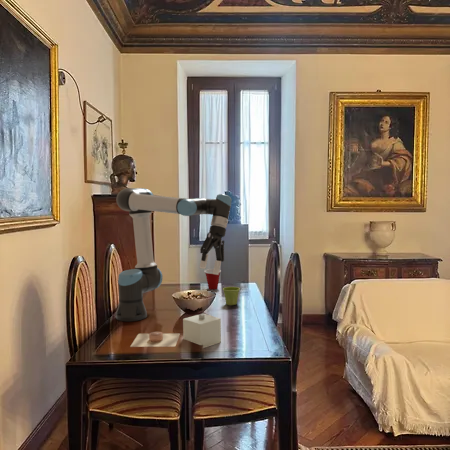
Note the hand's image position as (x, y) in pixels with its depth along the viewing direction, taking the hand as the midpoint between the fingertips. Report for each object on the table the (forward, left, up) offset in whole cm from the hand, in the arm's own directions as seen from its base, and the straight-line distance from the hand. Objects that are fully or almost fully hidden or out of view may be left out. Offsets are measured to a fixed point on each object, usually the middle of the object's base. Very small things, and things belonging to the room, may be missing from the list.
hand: (209, 271), depth 201 cm
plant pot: (+10, +42, -26) cm, 50 cm away
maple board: (-21, -21, -26) cm, 40 cm away
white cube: (-2, -20, -26) cm, 33 cm away
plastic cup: (-2, +81, -26) cm, 85 cm away
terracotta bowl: (-21, -21, -25) cm, 39 cm away
